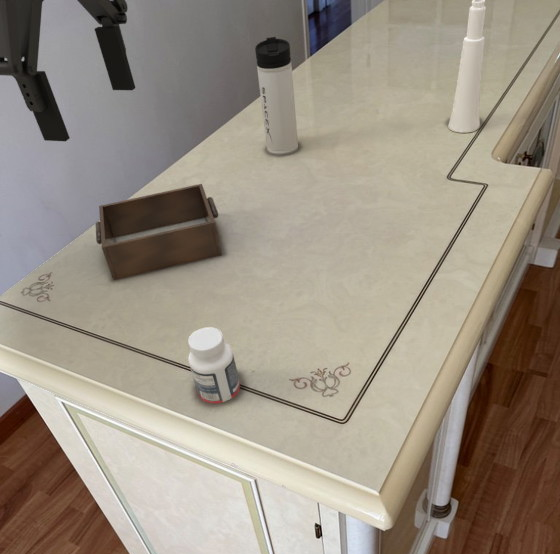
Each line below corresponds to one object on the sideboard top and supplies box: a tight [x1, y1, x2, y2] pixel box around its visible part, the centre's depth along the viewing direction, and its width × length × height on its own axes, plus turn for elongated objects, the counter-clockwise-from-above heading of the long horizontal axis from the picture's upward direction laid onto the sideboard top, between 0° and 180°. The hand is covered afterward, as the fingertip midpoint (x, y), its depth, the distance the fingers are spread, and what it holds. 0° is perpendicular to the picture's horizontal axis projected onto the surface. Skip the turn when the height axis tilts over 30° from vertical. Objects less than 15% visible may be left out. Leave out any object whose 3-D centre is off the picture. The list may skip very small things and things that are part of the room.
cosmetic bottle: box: [447, 0, 487, 134], centre depth 110 cm, size 6×6×22 cm
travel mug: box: [254, 36, 299, 157], centre depth 111 cm, size 6×7×20 cm
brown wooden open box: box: [95, 183, 223, 281], centre depth 94 cm, size 19×13×7 cm
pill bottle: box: [187, 326, 241, 404], centre depth 69 cm, size 5×5×9 cm
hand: (93, 113), depth 65 cm, fingers open, 13 cm apart
